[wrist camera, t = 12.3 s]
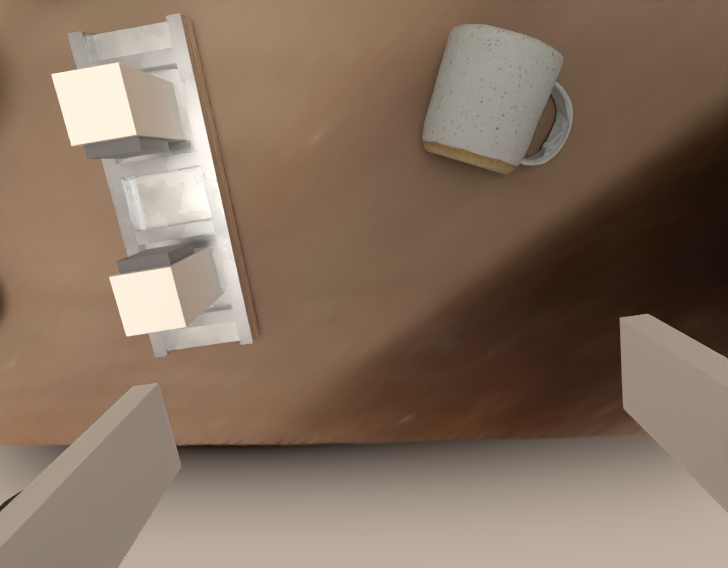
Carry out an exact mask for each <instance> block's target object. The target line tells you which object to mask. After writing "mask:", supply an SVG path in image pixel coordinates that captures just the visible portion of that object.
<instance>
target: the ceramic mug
mask: <svg viewBox="0 0 728 568" xmlns="http://www.w3.org/2000/svg"><path fill="white" fill-rule="evenodd" d="M563 61H564V60H563V56H562V54H560V53H559V52H558V51H557V50H556V49H555V48H553V47H551V46H549V45H548V44H546V43H544V42H542V41H540V40H538V39H536V38H532V37H530V36H527V35H524V34H522V33H517V32H514V31H510V30H506V29H503V28H499V27H495V26H490V25H484V24H462V25H458V26H456V27H453V28H452V30H451V31H450V33H449V36H448V40H447V44H446V47H445V51H444V54H443V58H442V61H441V65H440V68H439V72H438V76H437V79H436V83H435V87H434V90H433V94H432V97H431V101H430V104H429V108H428V111H427V115H426V118H425V121H424V128H423V135H422V144H423V146H424V148H425V150H427V151H428V152H431V153H434V154H438V155H441V156H444V157H448V158H451V159H454V160H458V161H461V162H465V163H468V164H471V165H474V166H478V167H481V168H485V169H488V170H491V171H495V172H498V173H501V174H510V173H511V172H513V171H515V170H516V169H517V167H518V166H519V164H522V165H529V166H534V165H541V164H544V163H546V162H547V161H549V160H551V159H552V158H553V157H554V156H555V155H557V153H558V152H559V151H560V150H561V148H562V146H563V145H564V143H565V142H566V140H567V138H568V135H569V133H570V130H571V127H572V122H573V108H572V103H571V100H570V98H569V96H568V94H567V92H566V91H565V89H564V88H563V87H562V86H561V85H560V84H559V83H558V82H556V80H557V78H558V75H559V73H560V70H561V67H562V64H563ZM550 94H551V96H552V97H553V98H554V101H555V104H556V109H557V114H556V120H555V123H554V126H553V128H552V130H551V132H550V134H549V136H548V138H547V140H546V142H545V143H544V144H543V146H542V149H541V151H539V152H538V153H537V154H535V155H533V156H531V157H528V158H524V156H525V154H526V152H527V150H528V148H529V145H530V143H531V141H532V138H533V135H534V132H535V129H536V126H537V124H538V122H539V119H540V117H541V115H542V112H543V110H544V108H545V106H546V103H547V101H548V99H549V96H550Z"/></svg>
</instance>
